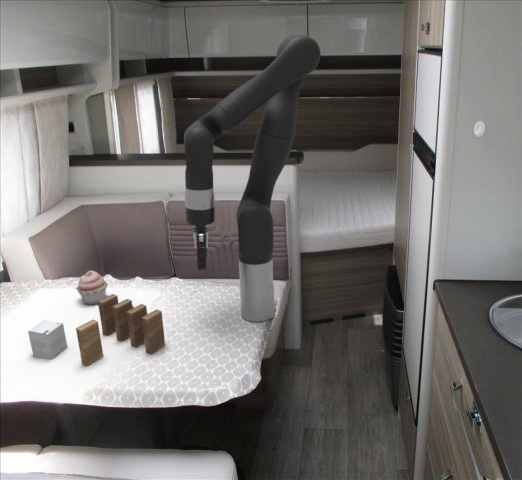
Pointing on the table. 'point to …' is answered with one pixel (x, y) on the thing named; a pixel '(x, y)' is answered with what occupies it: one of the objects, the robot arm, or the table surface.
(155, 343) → the domino
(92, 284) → the cupcake
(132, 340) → the domino
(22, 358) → the table surface
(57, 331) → the skincare box
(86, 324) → the domino
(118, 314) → the domino
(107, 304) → the domino
